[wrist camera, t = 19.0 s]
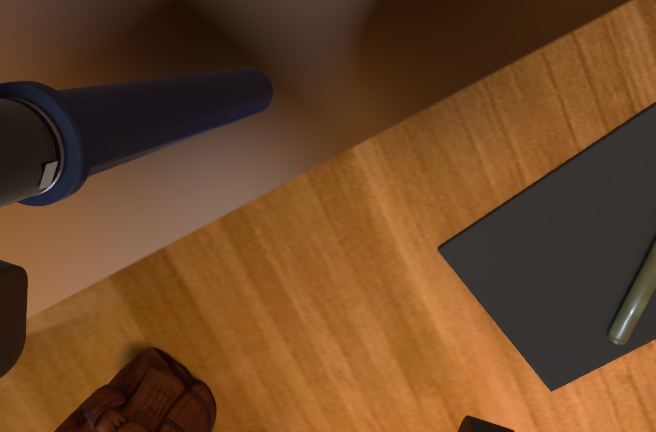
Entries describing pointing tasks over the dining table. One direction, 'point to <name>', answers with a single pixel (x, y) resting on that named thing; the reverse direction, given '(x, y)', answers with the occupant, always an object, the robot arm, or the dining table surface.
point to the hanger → (635, 301)
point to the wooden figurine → (146, 401)
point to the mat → (569, 255)
